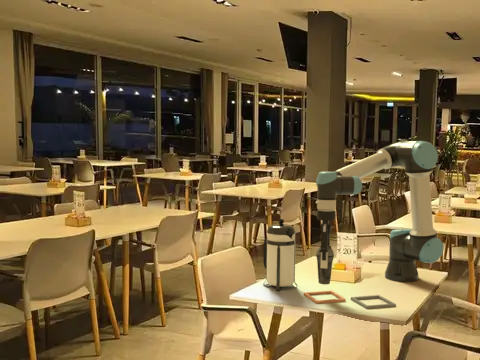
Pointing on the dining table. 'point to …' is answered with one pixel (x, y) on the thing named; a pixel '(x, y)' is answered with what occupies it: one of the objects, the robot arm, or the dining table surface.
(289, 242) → the coffee press
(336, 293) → the frame
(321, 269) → the beverage cup
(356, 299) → the frame
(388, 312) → the dining table surface
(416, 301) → the dining table surface
